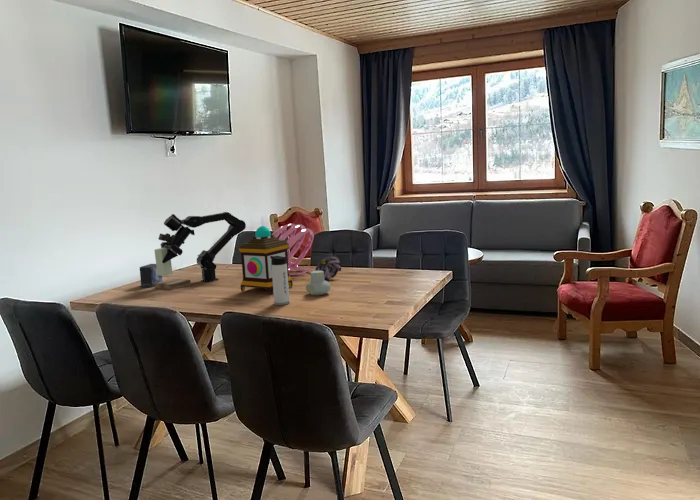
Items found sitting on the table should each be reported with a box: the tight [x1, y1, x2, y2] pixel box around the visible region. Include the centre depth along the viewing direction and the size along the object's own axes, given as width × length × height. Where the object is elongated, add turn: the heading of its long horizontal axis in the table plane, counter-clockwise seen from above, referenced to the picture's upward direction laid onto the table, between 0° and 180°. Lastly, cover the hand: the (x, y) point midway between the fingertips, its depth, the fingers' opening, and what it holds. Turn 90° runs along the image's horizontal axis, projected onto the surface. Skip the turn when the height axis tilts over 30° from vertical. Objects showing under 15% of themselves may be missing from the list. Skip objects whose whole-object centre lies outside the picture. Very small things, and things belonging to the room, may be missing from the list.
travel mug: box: [270, 256, 290, 306], centre depth 230 cm, size 6×7×20 cm
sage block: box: [154, 247, 173, 277], centre depth 276 cm, size 5×5×13 cm
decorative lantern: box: [237, 225, 294, 296], centre depth 258 cm, size 20×20×30 cm
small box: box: [139, 263, 163, 288], centre depth 285 cm, size 11×6×10 cm, turn 168°
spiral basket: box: [271, 223, 315, 277], centre depth 295 cm, size 28×28×27 cm
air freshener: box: [305, 270, 332, 296], centre depth 245 cm, size 11×8×10 cm
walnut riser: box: [154, 278, 192, 291], centre depth 280 cm, size 12×12×2 cm
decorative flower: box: [314, 255, 342, 282], centre depth 280 cm, size 14×12×15 cm
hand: (160, 262), depth 275 cm, fingers closed on sage block, 6 cm apart
